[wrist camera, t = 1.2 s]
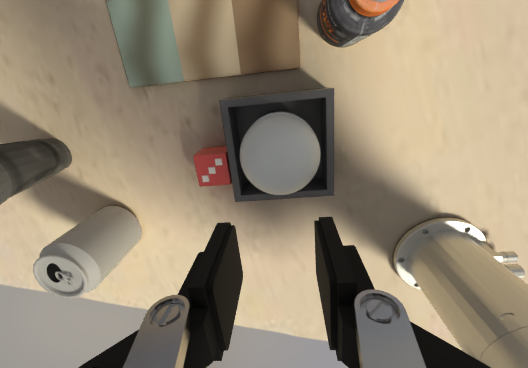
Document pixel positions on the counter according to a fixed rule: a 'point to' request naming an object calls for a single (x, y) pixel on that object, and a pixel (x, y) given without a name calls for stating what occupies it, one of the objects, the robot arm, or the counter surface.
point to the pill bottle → (354, 19)
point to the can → (87, 252)
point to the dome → (280, 153)
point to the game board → (204, 38)
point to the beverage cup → (30, 164)
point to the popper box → (241, 119)
